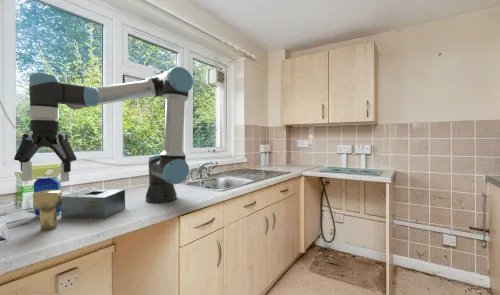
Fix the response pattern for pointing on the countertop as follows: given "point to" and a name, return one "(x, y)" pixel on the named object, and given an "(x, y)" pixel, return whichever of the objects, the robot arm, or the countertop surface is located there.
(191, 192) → the countertop surface
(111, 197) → the block
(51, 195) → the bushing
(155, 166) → the robot arm
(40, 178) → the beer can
